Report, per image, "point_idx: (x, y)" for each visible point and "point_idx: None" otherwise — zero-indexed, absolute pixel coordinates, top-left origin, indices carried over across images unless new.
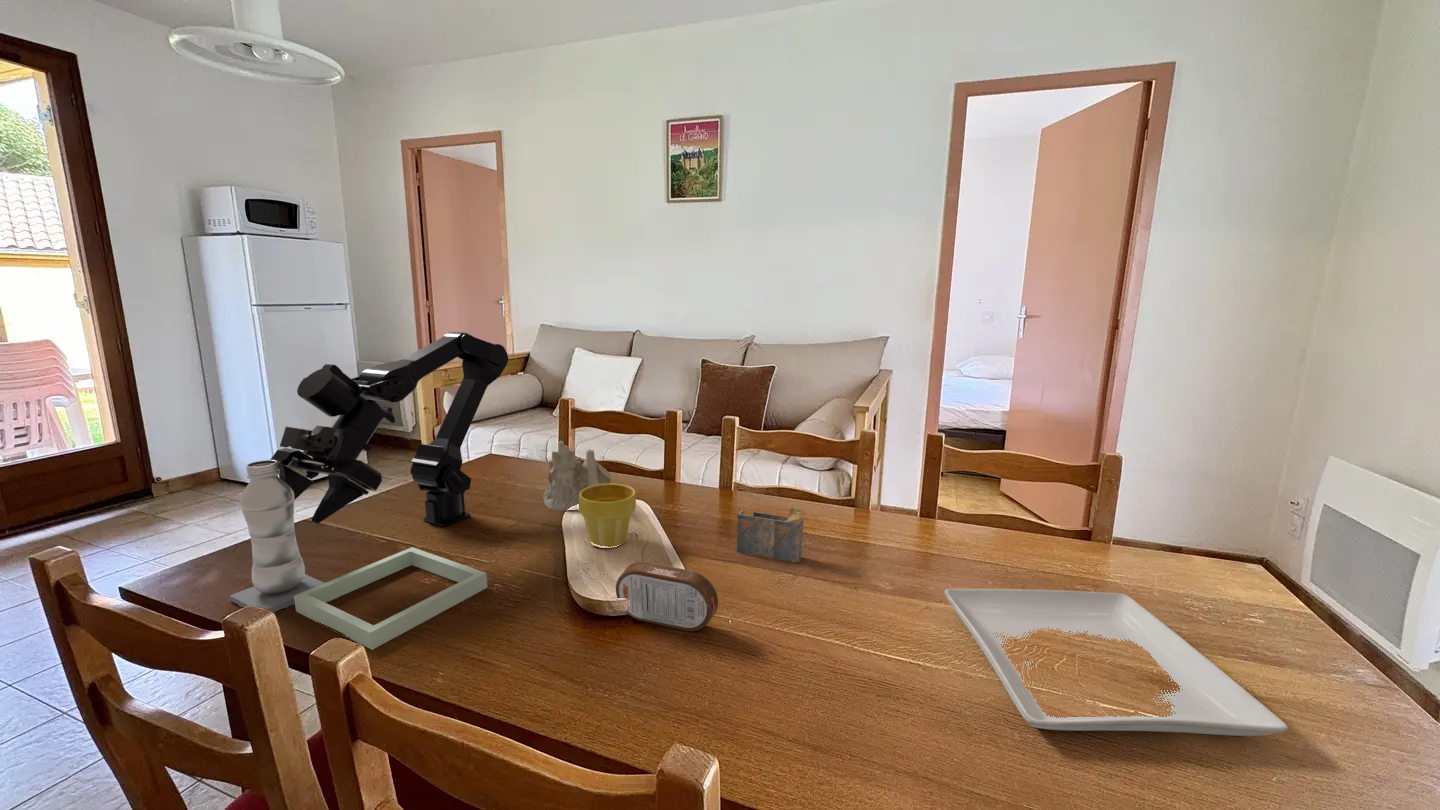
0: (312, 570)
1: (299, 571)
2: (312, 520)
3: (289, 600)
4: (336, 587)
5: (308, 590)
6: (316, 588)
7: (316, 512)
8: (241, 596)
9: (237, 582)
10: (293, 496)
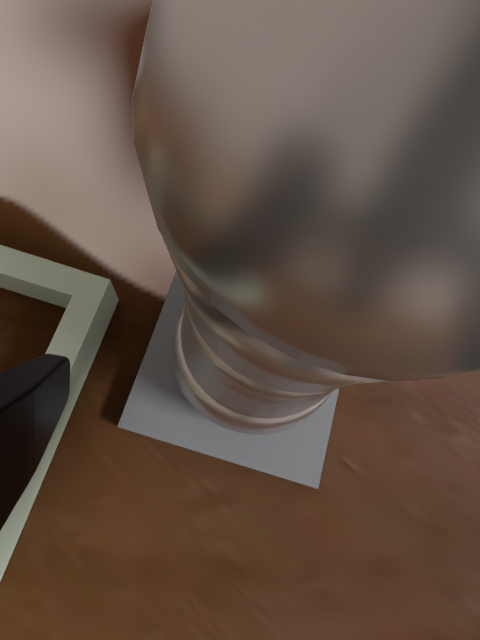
0: (297, 540)
1: (172, 360)
2: (53, 354)
3: (161, 315)
4: None
5: (89, 317)
6: (69, 332)
7: (16, 381)
8: None
9: (447, 403)
10: (178, 246)
